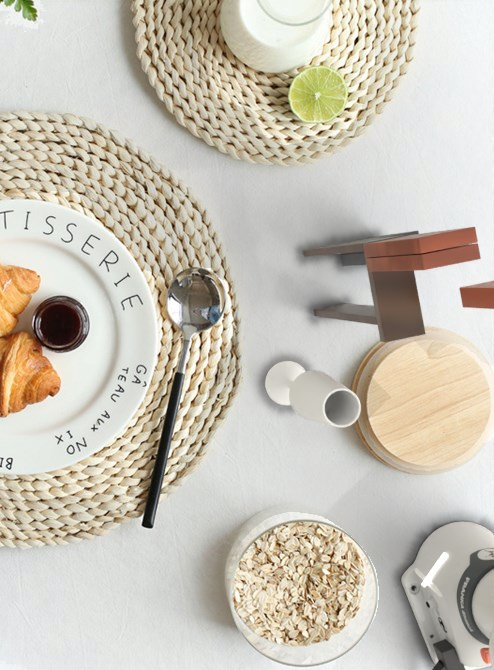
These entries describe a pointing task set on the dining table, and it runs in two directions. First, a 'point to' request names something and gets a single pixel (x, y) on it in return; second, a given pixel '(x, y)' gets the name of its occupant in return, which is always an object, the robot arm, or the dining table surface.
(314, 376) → the champagne flute
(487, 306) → the terracotta book
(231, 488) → the dining table surface
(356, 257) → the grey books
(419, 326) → the shelf
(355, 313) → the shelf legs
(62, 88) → the dining table surface
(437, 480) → the dining table surface
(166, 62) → the dining table surface
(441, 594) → the robot arm
